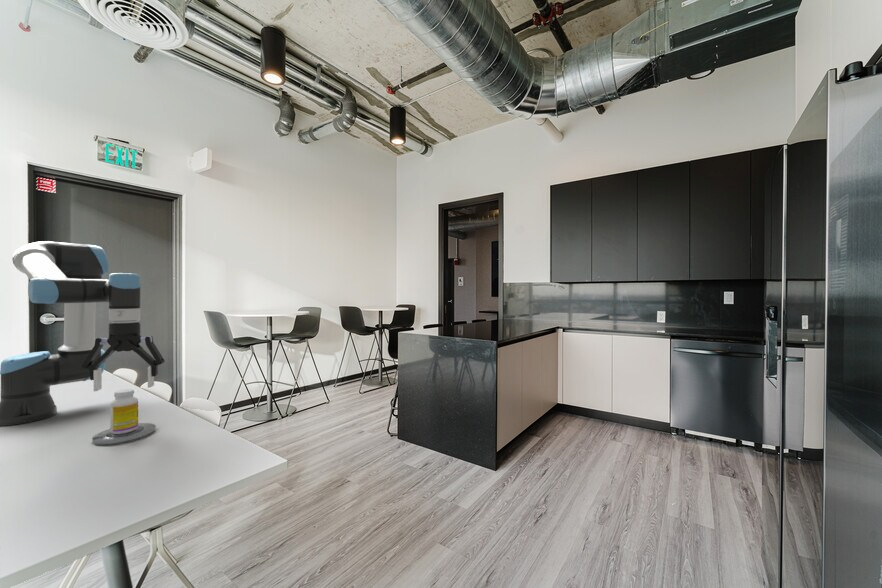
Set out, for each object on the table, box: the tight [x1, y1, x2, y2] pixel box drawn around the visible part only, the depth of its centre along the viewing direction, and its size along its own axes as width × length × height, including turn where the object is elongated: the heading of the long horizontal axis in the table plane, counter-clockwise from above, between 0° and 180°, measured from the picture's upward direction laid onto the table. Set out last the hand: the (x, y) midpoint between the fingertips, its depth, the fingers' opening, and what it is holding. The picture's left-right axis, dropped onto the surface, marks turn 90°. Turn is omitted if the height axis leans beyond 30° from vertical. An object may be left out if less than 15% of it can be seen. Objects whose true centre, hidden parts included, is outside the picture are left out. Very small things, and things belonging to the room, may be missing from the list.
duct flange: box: [91, 422, 157, 447], centre depth 112 cm, size 15×15×1 cm
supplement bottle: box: [109, 388, 139, 434], centre depth 112 cm, size 7×7×13 cm
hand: (124, 388), depth 112 cm, fingers open, 13 cm apart
